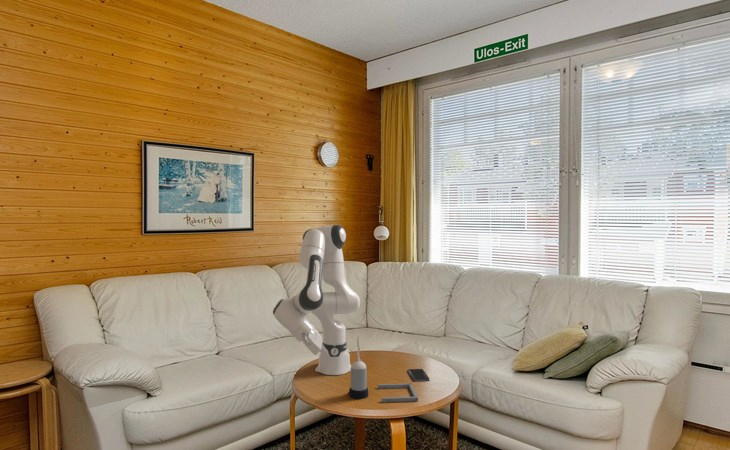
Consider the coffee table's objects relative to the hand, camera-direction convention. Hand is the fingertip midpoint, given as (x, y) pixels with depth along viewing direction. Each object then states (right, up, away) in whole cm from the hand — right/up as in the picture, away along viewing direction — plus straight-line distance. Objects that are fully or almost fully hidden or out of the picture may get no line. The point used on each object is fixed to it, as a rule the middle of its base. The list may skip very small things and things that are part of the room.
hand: (327, 354), depth 192 cm
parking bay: (+29, -18, +3) cm, 34 cm away
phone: (+41, -18, +26) cm, 52 cm away
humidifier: (+13, -18, +2) cm, 23 cm away
